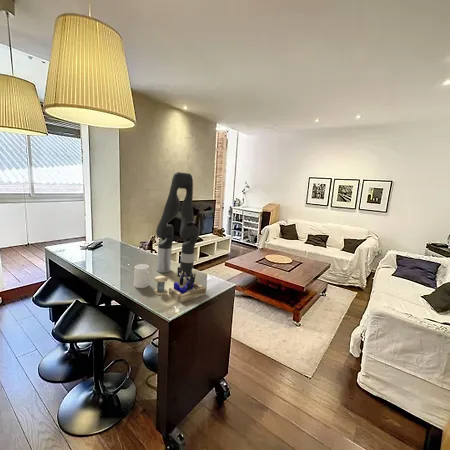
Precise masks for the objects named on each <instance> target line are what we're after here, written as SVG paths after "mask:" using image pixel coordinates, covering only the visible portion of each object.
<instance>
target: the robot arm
mask: <svg viewBox="0 0 450 450" xmlns="http://www.w3.org/2000/svg"><path fill="white" fill-rule="evenodd" d="M179 189H182V190H183V189H185V197H184V199H183V201H182V203H181V202H180V198H179V195H178V190H179ZM193 192H194V180H193V176H192V174H191V173H187V172H180V171H177V172H175V173H174V174H173V175H172V179H171V183H170V188H169V193H168V195H167V199H166V202H165V205H164V208H163V211H162V214H161V218H160V220H159V222H158V224H157V227H156V233H155V234H156V237H157V238H159V239H163V240H161V241H159V242H158V245H157V256H156V265H155V266H156V267H155V268H156V271H157V272H158V273H161V274H163V273H164V274H166V273H169V272H170V271H171V265H172V263H171V262H172V250H173V249H172V247H173V242H174V234H175V232H174V226H173V224H168V223H170V222H171V221H172V220H173V219H174V218H176V217H177V215H178V214H179V211H180V216H181V221H180V222H181V223H180V229H179V235H180V237H181V238H182V239H188V240H186V241H184V242H183V243H181V253H180V265H179V267H177V270H176V271H177V273H176V274H177V275H176V276H177V278H178V279H179V286H182V285H184V279H185V280H186V281H187V282H188V284H187V289H188V290H189V289H191V284H192V283H194V282H196V275H197V274H196V273H193V268H194V263H195V262H194V260H195V246H196V243H197V240H198V238H199V234H200V230H199V228H198V227H197V226H196V225H188V224H190V223H193V222H194V220H195V216H194V215H195V214H194V208H193V197H194V195H193ZM189 279H190V281H189ZM192 280H193V281H192ZM187 282H186V283H187Z"/></svg>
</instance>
